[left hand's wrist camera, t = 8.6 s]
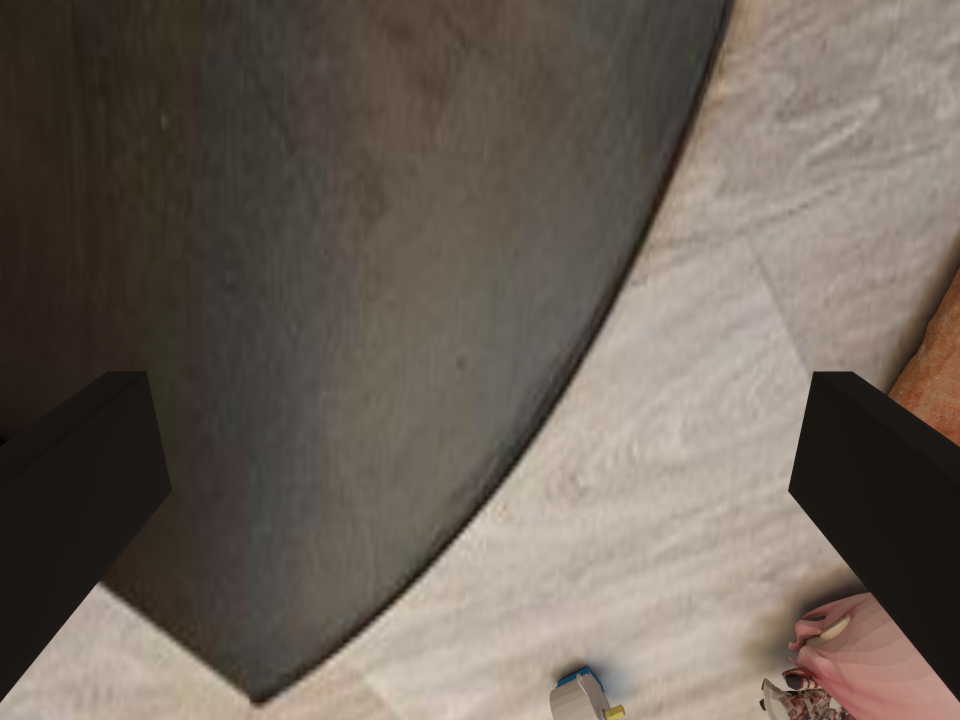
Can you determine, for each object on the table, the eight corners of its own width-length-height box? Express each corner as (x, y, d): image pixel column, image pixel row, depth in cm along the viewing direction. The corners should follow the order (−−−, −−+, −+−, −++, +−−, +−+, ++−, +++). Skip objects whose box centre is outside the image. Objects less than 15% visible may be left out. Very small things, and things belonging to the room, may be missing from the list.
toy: (801, 741, 51) (987, 664, 47) (847, 861, 41) (1090, 775, 37) (719, 619, 51) (897, 532, 47) (743, 708, 41) (974, 606, 37)
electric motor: (632, 693, 51) (648, 751, 46) (581, 717, 52) (592, 776, 47) (590, 638, 49) (603, 693, 44) (538, 664, 50) (544, 721, 45)
